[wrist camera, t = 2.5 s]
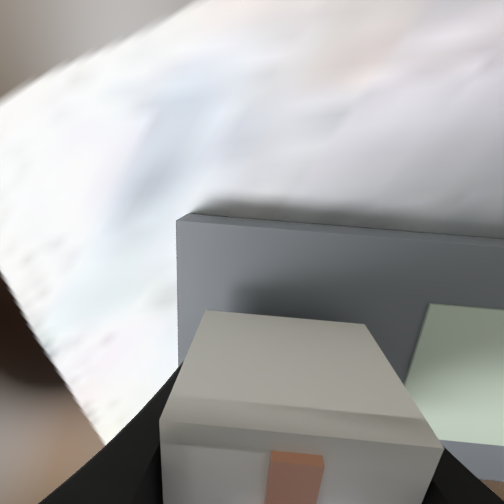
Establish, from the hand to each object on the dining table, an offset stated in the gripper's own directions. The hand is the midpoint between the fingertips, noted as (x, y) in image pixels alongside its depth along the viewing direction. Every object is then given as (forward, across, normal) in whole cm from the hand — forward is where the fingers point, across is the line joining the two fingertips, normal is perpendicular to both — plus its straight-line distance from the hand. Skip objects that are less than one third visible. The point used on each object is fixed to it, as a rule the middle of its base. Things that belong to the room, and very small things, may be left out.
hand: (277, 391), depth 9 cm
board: (+3, -4, 0) cm, 5 cm away
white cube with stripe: (0, 0, 0) cm, 0 cm away
